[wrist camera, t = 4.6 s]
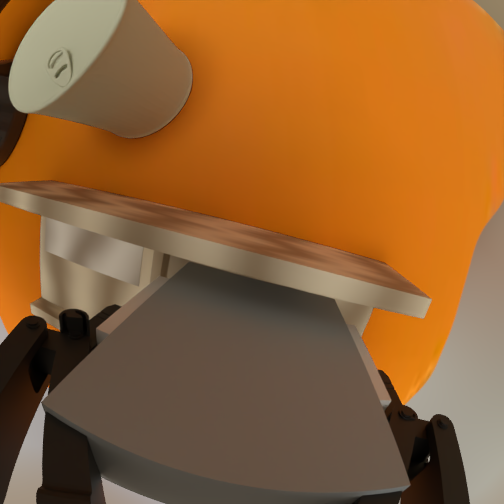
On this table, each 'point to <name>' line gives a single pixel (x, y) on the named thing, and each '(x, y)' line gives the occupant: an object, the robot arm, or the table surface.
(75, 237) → the rack
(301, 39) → the table surface
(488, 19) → the table surface
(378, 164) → the table surface
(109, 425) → the slate board
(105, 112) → the can
